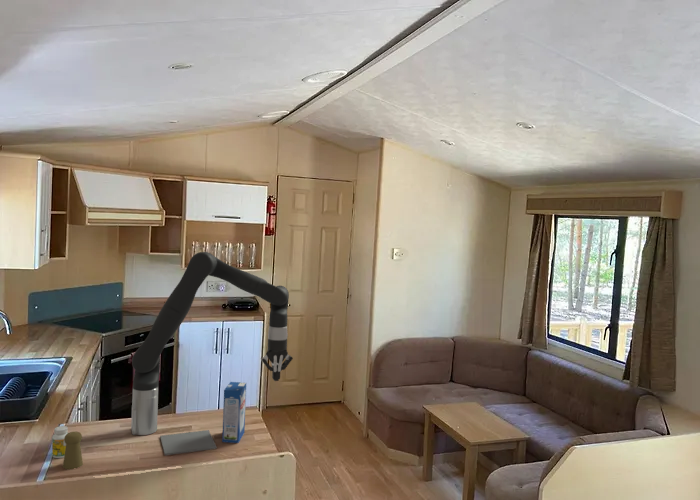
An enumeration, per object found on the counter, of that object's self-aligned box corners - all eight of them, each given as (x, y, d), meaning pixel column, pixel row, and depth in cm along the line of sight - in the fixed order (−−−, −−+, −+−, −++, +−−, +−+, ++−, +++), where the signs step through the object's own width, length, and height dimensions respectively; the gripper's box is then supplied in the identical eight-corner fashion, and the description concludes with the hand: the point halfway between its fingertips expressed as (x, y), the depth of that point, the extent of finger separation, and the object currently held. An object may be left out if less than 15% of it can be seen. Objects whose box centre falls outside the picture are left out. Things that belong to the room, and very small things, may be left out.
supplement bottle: (73, 453, 191) (73, 426, 191) (60, 460, 186) (60, 432, 186) (61, 450, 193) (62, 423, 193) (48, 456, 188) (48, 429, 188)
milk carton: (228, 431, 217) (230, 381, 215) (244, 432, 217) (246, 382, 215) (222, 442, 207) (224, 390, 205) (238, 443, 207) (240, 391, 205)
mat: (164, 455, 194) (164, 453, 194) (160, 437, 208) (160, 435, 208) (216, 448, 201) (216, 446, 201) (208, 431, 216) (208, 429, 216)
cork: (86, 461, 186) (86, 429, 186) (77, 469, 180) (78, 437, 180) (67, 460, 186) (68, 429, 185) (59, 469, 180) (59, 436, 179)
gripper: (290, 334, 222) (289, 376, 223) (258, 335, 216) (257, 379, 217) (296, 338, 215) (295, 381, 216) (263, 340, 209) (262, 385, 211)
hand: (275, 380), depth 217 cm, fingers closed
